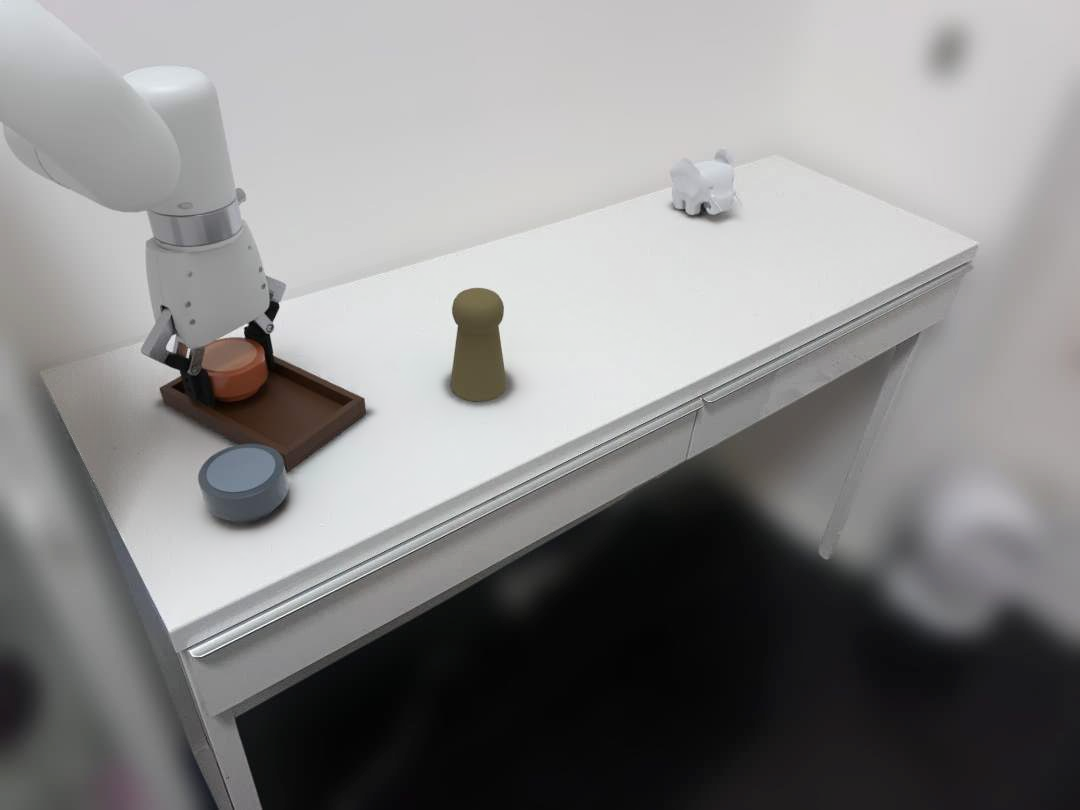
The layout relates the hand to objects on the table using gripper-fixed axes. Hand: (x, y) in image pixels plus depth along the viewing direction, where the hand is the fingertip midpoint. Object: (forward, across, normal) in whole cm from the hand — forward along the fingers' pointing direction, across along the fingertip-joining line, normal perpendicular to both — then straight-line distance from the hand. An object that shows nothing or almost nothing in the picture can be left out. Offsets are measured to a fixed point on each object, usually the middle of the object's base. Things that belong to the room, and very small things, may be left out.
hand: (233, 380), depth 82 cm
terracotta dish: (+1, 0, 0) cm, 1 cm away
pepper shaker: (+2, -16, +19) cm, 25 cm away
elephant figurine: (+2, -73, +20) cm, 76 cm away
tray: (+2, 0, +4) cm, 4 cm away
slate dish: (+2, +10, +13) cm, 16 cm away
